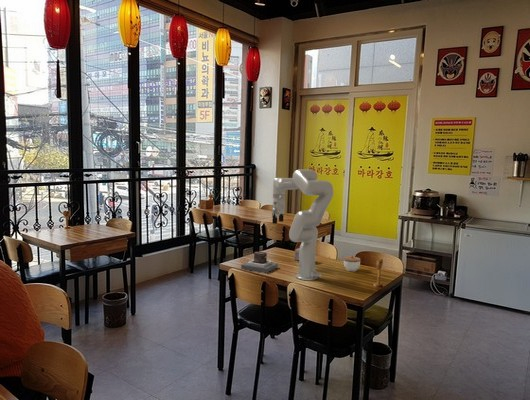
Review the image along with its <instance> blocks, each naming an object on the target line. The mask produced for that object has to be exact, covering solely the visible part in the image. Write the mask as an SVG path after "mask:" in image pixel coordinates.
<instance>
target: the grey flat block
mask: <svg viewBox="0 0 530 400" xmlns="http://www.w3.org/2000/svg"><path fill="white" fill-rule="evenodd" d="M240 266H241V267H240V269H241V270H242V269H245V270H244V271H248V270H251V271H250V272H254V271H258V272H257V273H260V272H264V273H263V274H266V273H267V272H269V271H271V270H273V269H274V270H276V269H278V268H279V263H278V262H273V261H272V260H270V259H269V260H268V259H267V263H265V264H258V263H254V259H251V260H249V261H247V262H244V263H242V264H241V265H240ZM277 267H278V268H277ZM275 268H276V269H275ZM274 270H273V271H274ZM271 272H272V271H271ZM269 273H270V272H269ZM267 274H268V273H267Z"/></svg>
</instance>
